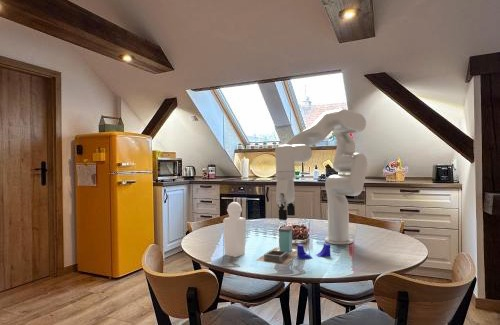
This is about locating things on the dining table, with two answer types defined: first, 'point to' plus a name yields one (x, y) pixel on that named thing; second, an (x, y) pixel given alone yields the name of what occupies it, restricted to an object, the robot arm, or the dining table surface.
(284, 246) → the plug
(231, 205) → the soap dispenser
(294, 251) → the board
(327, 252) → the cable clip
